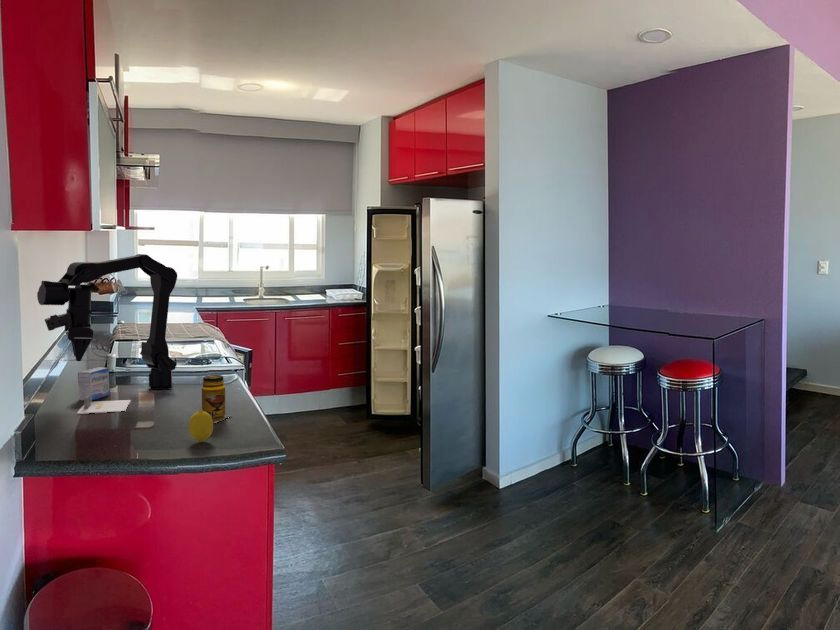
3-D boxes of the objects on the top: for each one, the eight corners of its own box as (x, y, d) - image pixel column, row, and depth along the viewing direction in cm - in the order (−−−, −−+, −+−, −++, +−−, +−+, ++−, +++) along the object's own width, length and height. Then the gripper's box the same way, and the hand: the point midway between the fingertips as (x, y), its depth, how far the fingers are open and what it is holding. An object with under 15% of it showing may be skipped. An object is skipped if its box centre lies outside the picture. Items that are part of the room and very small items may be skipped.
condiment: (216, 424, 160) (215, 380, 159) (189, 420, 163) (189, 377, 162) (232, 417, 167) (232, 374, 166) (206, 413, 170) (206, 371, 168)
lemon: (192, 438, 148) (192, 406, 147) (215, 438, 149) (215, 407, 148) (186, 446, 143) (185, 413, 142) (210, 446, 143) (209, 413, 142)
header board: (131, 401, 180) (130, 390, 180) (125, 411, 169) (124, 400, 168) (86, 403, 176) (85, 391, 176) (76, 414, 165) (76, 402, 165)
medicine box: (91, 401, 178) (90, 372, 177) (78, 400, 179) (77, 371, 178) (110, 395, 186) (109, 367, 185) (97, 394, 187) (96, 366, 186)
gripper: (46, 302, 179) (44, 354, 180) (48, 307, 163) (45, 364, 164) (88, 303, 185) (86, 354, 186) (94, 308, 169) (92, 363, 170)
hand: (77, 358), depth 176 cm, fingers open, 9 cm apart
